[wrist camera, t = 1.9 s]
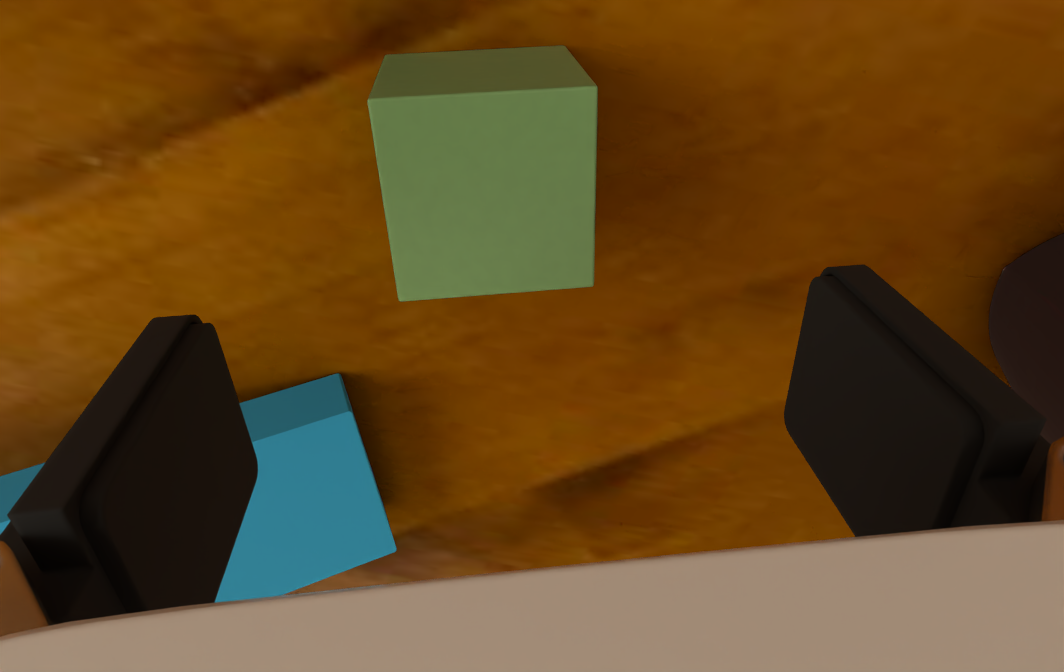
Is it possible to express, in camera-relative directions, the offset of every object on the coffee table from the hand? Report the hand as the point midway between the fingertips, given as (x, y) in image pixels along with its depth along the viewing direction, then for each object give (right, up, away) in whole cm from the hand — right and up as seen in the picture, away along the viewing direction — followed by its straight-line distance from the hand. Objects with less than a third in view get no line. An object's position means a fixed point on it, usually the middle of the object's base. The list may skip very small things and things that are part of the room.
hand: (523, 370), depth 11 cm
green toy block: (-1, +6, +9) cm, 11 cm away
